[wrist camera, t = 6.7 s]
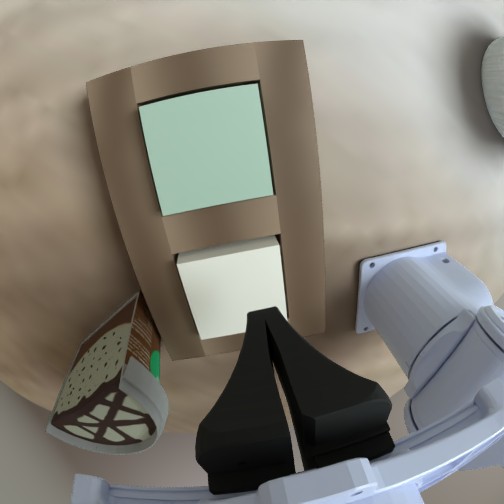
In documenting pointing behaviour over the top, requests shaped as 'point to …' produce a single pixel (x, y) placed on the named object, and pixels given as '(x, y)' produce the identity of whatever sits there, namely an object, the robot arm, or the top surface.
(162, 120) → the sage key
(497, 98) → the ramekin
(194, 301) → the cream key
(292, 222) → the key console
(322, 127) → the top surface
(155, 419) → the food container
